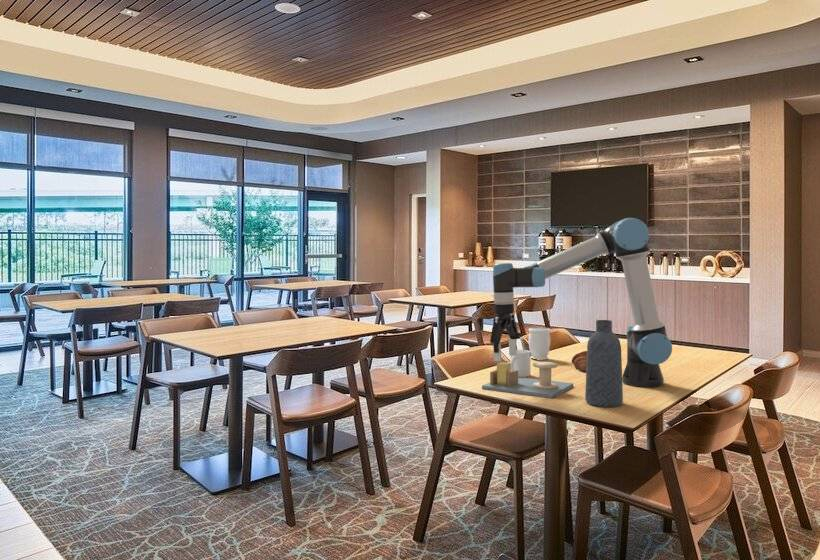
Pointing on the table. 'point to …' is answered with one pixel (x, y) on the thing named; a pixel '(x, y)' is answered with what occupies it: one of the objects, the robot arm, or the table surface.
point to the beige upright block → (503, 372)
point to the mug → (521, 363)
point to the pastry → (580, 361)
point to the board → (530, 382)
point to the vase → (604, 367)
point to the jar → (539, 342)
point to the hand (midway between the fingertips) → (505, 358)
